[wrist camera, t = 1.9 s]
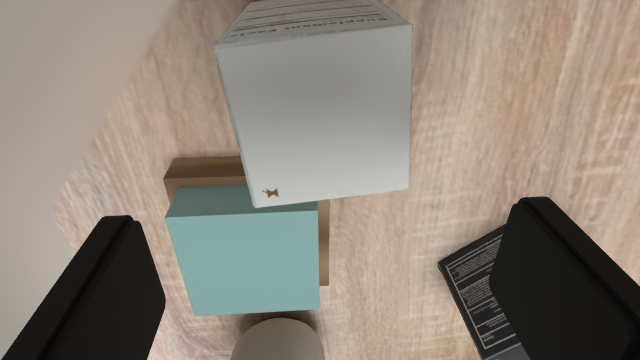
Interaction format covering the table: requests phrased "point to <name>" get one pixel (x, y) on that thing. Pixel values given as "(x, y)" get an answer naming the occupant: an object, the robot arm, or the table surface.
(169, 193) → the tower base
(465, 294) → the small box
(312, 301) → the tower top
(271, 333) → the glass bottle
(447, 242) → the table surface
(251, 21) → the supplement box
